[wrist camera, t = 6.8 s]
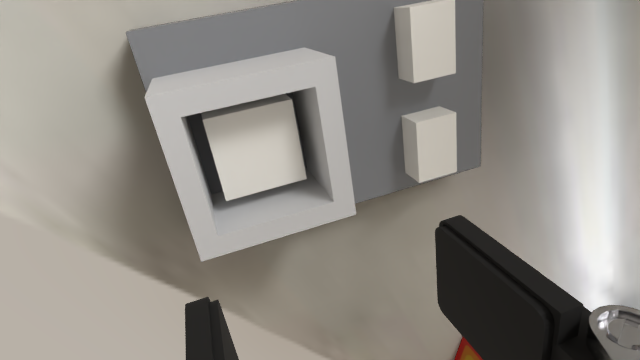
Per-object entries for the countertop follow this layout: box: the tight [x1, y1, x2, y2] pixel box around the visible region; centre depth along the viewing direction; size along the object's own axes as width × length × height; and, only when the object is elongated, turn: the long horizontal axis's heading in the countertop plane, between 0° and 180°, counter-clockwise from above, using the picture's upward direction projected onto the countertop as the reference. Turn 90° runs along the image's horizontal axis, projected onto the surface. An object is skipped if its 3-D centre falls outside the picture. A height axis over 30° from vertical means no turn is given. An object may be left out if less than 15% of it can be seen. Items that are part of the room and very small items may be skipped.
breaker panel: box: [126, 0, 483, 262], centre depth 25 cm, size 22×14×8 cm, turn 99°
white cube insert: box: [201, 94, 307, 201], centre depth 24 cm, size 5×5×3 cm
